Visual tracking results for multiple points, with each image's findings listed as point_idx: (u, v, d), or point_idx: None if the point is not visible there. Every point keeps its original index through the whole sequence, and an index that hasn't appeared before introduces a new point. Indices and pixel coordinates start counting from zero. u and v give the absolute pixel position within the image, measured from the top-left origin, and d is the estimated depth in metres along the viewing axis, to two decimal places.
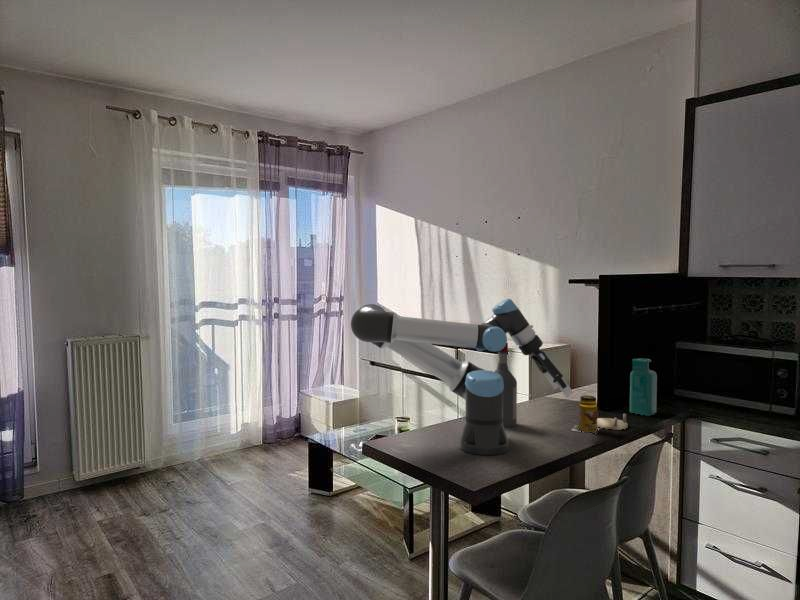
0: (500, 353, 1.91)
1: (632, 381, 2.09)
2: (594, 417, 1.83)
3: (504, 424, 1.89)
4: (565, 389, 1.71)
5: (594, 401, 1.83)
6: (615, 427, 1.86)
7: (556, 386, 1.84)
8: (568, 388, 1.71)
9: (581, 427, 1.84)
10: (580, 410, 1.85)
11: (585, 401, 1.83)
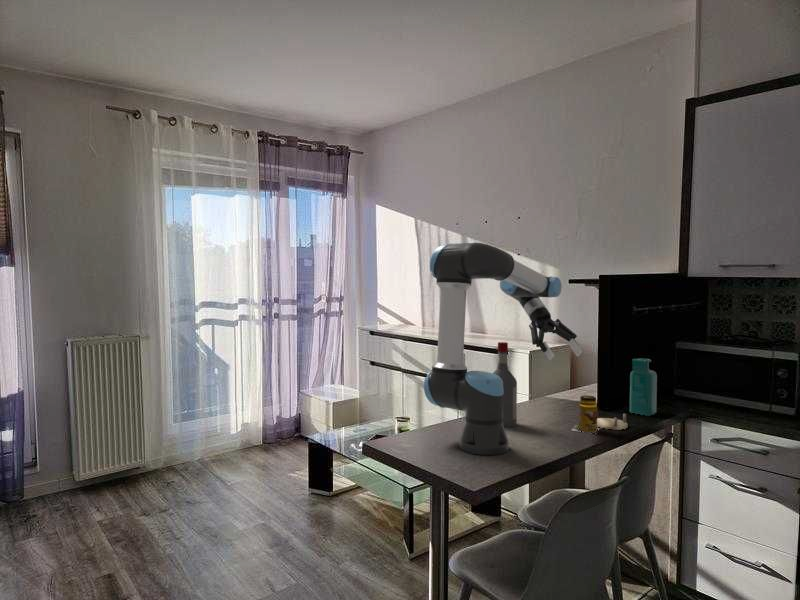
0: (500, 353, 1.91)
1: (632, 381, 2.09)
2: (594, 417, 1.83)
3: (504, 424, 1.89)
4: None
5: (594, 401, 1.83)
6: (615, 427, 1.86)
7: None
8: None
9: (581, 427, 1.84)
10: (580, 410, 1.85)
11: (585, 401, 1.83)
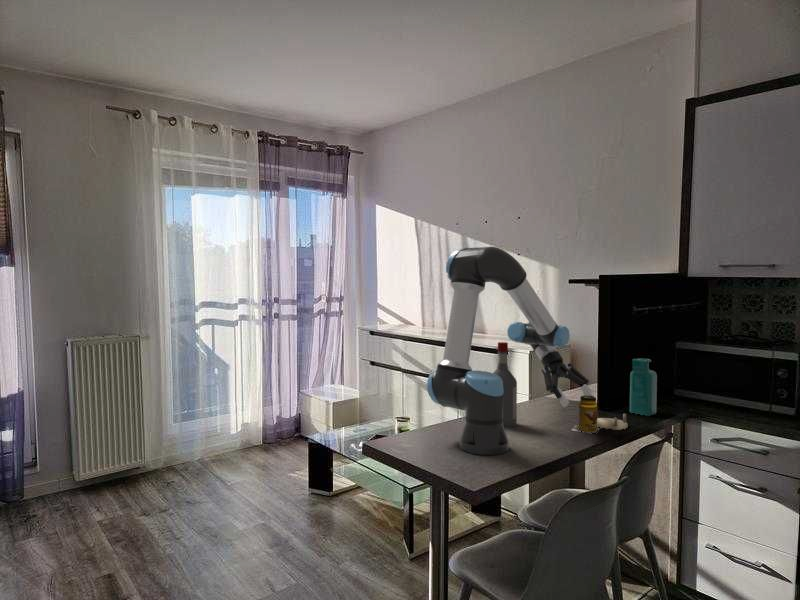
0: (500, 353, 1.91)
1: (632, 381, 2.09)
2: (594, 417, 1.83)
3: (504, 424, 1.89)
4: None
5: (594, 401, 1.83)
6: (615, 427, 1.86)
7: None
8: None
9: (581, 427, 1.84)
10: (580, 410, 1.85)
11: (585, 401, 1.83)
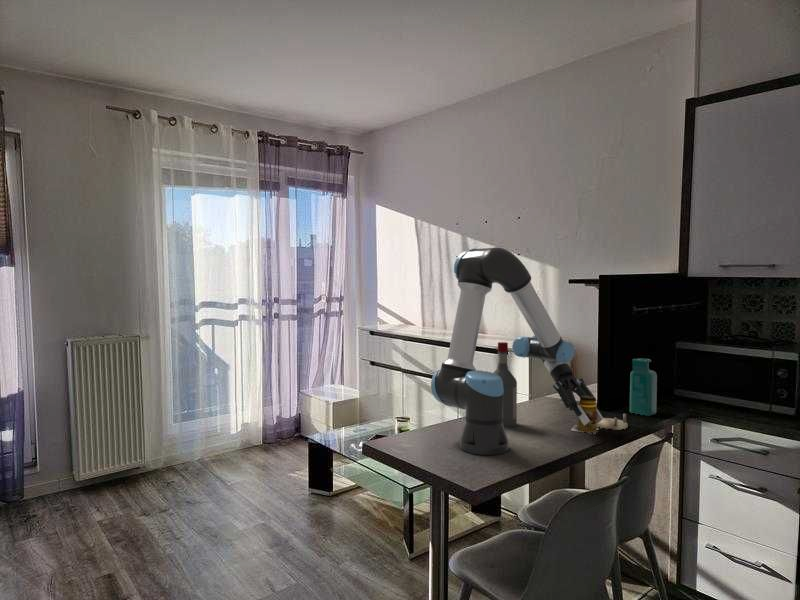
0: (500, 353, 1.91)
1: (632, 381, 2.09)
2: (594, 417, 1.82)
3: (504, 424, 1.89)
4: None
5: (594, 401, 1.83)
6: (615, 427, 1.86)
7: None
8: None
9: (580, 427, 1.84)
10: None
11: (585, 401, 1.83)
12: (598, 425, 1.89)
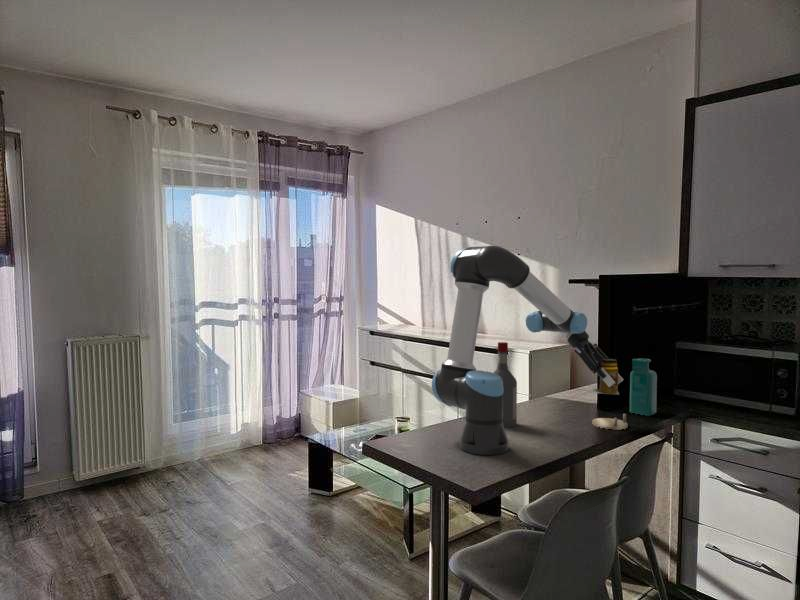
0: (500, 353, 1.91)
1: (632, 381, 2.09)
2: (616, 379, 1.88)
3: (504, 424, 1.89)
4: None
5: (616, 363, 1.88)
6: (615, 427, 1.86)
7: None
8: None
9: (604, 389, 1.89)
10: None
11: (608, 363, 1.88)
12: (598, 425, 1.89)
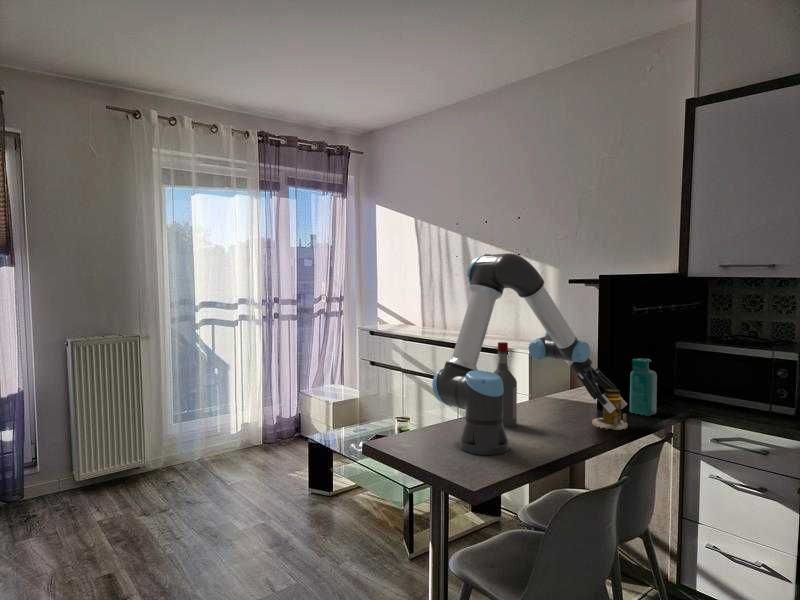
0: (500, 353, 1.91)
1: (632, 381, 2.09)
2: (620, 409, 1.89)
3: (504, 424, 1.89)
4: None
5: (619, 394, 1.89)
6: (615, 427, 1.86)
7: None
8: None
9: (607, 420, 1.89)
10: None
11: (612, 394, 1.88)
12: (598, 425, 1.89)
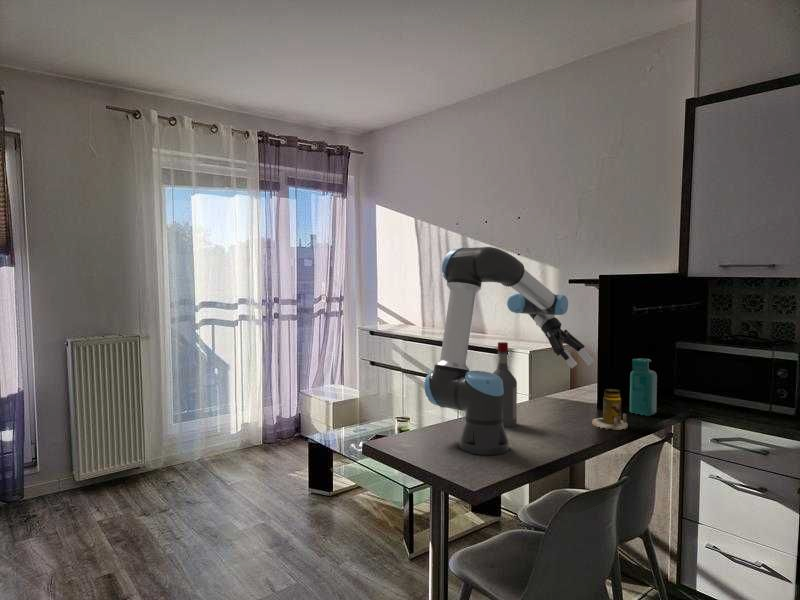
0: (500, 353, 1.91)
1: (632, 381, 2.09)
2: (620, 409, 1.89)
3: (504, 424, 1.89)
4: None
5: (619, 394, 1.89)
6: (615, 427, 1.86)
7: None
8: None
9: (607, 420, 1.89)
10: (606, 403, 1.90)
11: (612, 394, 1.88)
12: (598, 425, 1.89)
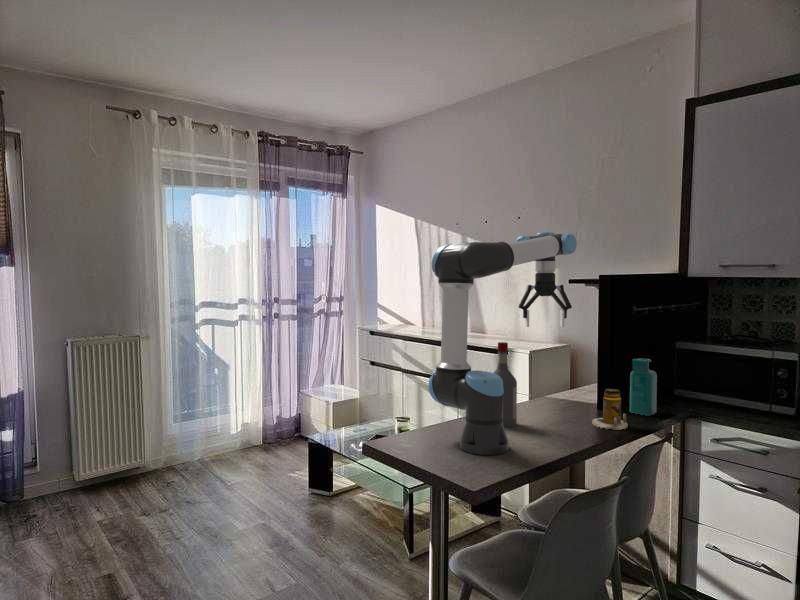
0: (500, 353, 1.91)
1: (632, 381, 2.09)
2: (620, 409, 1.89)
3: (504, 424, 1.89)
4: None
5: (619, 394, 1.89)
6: (615, 427, 1.86)
7: None
8: None
9: (607, 420, 1.89)
10: (606, 403, 1.90)
11: (612, 394, 1.88)
12: (598, 425, 1.89)
